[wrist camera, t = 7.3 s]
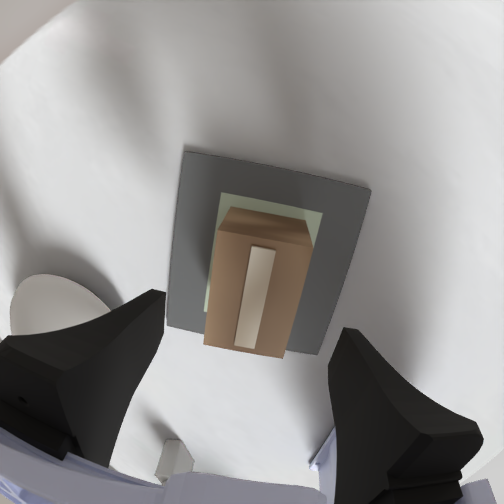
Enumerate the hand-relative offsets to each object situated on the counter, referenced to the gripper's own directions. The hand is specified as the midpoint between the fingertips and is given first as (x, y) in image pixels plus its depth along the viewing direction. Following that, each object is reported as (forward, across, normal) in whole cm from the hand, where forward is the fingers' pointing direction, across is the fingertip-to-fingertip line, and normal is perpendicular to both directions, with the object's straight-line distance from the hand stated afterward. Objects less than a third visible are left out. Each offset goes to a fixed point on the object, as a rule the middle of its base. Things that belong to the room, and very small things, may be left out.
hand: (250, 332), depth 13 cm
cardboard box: (+6, 0, 0) cm, 6 cm away
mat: (+7, 0, 0) cm, 7 cm away
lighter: (+7, +3, +23) cm, 24 cm away
